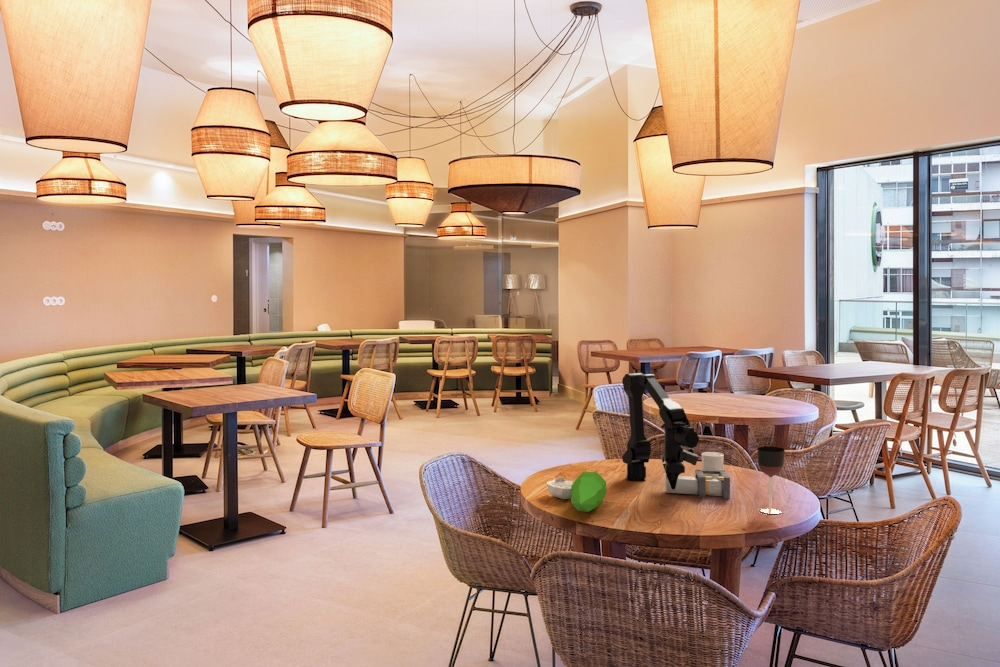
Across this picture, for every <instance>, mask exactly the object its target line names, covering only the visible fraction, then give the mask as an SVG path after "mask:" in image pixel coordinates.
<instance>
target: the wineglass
mask: <svg viewBox="0 0 1000 667" xmlns="http://www.w3.org/2000/svg"><path fill="white" fill-rule="evenodd" d="M756 450H757V462H758V467H759V469H760V471H761V472H762V473H763V474H765V475H766V476H768V477H769V481H768V486H769V489H768V507H766V508H767V509H762V508H760V509H761V510H760V511H761V512H764V513H768V514H769V513H770V514H779V513H782V512H783V511H782V510H780V511H779V509H777V510H776V508H773V507H772V505H773V504H772V498H773V493H772V492H773V477H774V476H775V475H777V474H779V473H780V472H781V471H782V469H783V467H784V462H785V453H786V452H785V450H786V449H785V448H783V447H779V446H771V445H769V446H759V447H757V449H756ZM768 508H769V509H768ZM781 511H782V512H781Z"/></svg>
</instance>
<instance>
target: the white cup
mask: <svg viewBox="0 0 1000 667" xmlns="http://www.w3.org/2000/svg"><path fill="white" fill-rule="evenodd" d="M724 456H725V454H724V453H722V452H717V451H704V452H701V467H702V469H701V470H724V458H725V457H724ZM704 475H705V476H711V477H712V478H717V476H719V474H704Z"/></svg>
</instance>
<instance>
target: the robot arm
mask: <svg viewBox="0 0 1000 667" xmlns="http://www.w3.org/2000/svg"><path fill="white" fill-rule="evenodd" d="M621 380H622V388H623V391H624V392H625V394H626V396H627V397H628V406H629V407H628V408H629V425H630V437H629V440H628V441H627V444H626V451H625V452H624V453H623V455H622V456H621V457H622V458H621V459H622V460H621V461H622V463H624V464H626V481H646V478H647V466H646V465H645V463H649V461H650V458H651V453H652V448H651V447H652V446H651V445H652V444H651V440H650V439H648V438H647V436H646V435H645V424H644V423H645V422H644V410H643V406H644V405H643V396H644V393H645V392H648V395H650V397H651V398H652V400H653V401H654V402H655V404H656V405H657V407H658V414H659V417H660V418H661V421H662V422H663V424H662V425H660V428H661V429H664V444H663V448H664V453H663V454H662V455H661V463H662V466H663V468H664V472H665V476H666V475H667V477H668V480H669V483H670V485H671V488H672V489H675V487H676V483H677V479H678V476H681V474H685V471H686V467H685V465H684V462H686V463H689V464H690V465H692V466H697V462H698V460H699V455H698V454H696V453H695V452H694V448H696V447H697V445H699V440H700V438H699V435H698V433H697V432H696V431H695V428H694V427H692V425H691V423H690V421H689V418H688V416H687V415H686V412H685V410H684V408H683V407H682V406H681V405H680V404H679V403H678V402H677V401H674V400H673V399H671V398H670V396H669V395H668V394H667V393H666V391H665V390H664V389H663V387H662V386H661V384H660V382H658V380H657V378H656V375H655V374H653V373H643V372H635V373H626V374H624V376H623V377H622V379H621ZM683 447H685V448H687V449H684V448H683Z"/></svg>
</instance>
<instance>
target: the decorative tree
mask: <svg viewBox="0 0 1000 667" xmlns="http://www.w3.org/2000/svg"><path fill="white" fill-rule="evenodd" d="M606 496H607V481H606V480H605V479H604V478H603V477H602V476H601V474H600V473H598V471H583V472H582V473H581V474H580V475H579V476H578V477H577V478H575V480H574V481H573V484H572V485H571V498H570V499H571V500H570V502H571V504H572V505H573V507H574V508H576V510H577V511H579V512H591V511H593V510H596V508H597V507H598V506H600V505H601V503H603V502H604V498H606Z"/></svg>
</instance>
